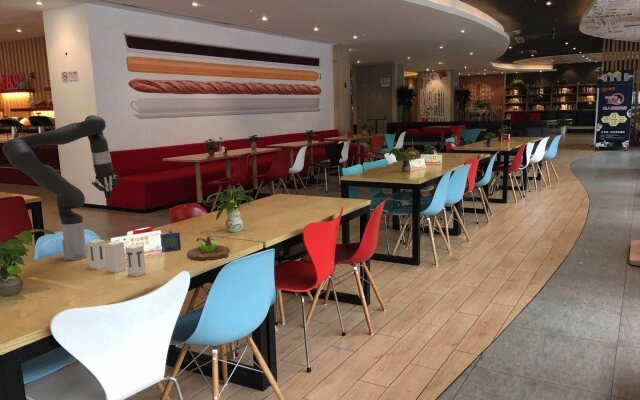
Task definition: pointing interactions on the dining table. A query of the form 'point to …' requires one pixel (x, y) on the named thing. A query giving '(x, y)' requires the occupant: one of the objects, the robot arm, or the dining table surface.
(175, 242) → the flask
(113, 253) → the plain block
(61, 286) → the dining table surface
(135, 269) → the block marked 7
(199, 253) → the plant
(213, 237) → the tweezers
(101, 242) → the block marked 1
